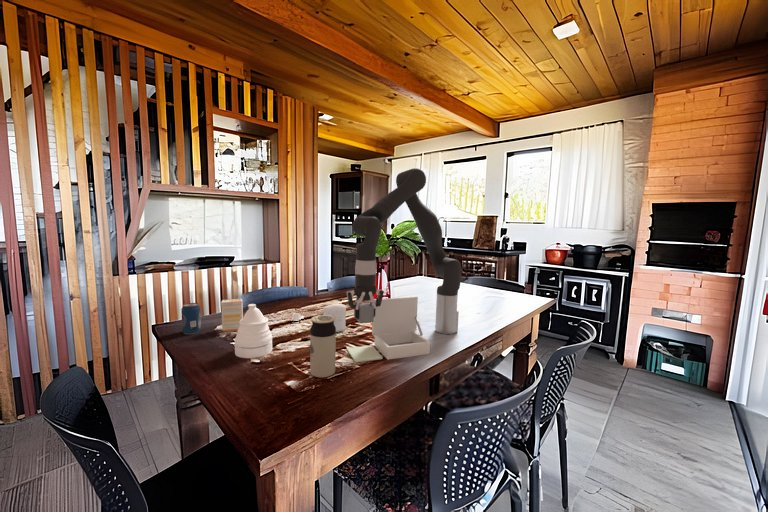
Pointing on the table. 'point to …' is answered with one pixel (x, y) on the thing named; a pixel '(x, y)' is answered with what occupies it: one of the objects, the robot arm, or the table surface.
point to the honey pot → (253, 335)
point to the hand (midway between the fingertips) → (364, 318)
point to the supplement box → (231, 314)
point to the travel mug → (322, 346)
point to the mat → (364, 353)
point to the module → (366, 313)
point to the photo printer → (337, 315)
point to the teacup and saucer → (297, 317)
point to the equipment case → (398, 328)
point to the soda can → (191, 318)
